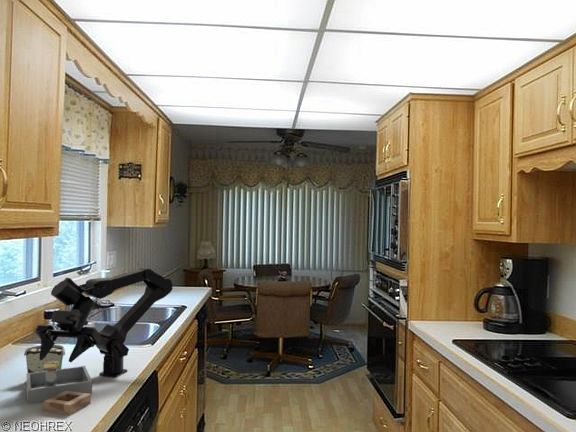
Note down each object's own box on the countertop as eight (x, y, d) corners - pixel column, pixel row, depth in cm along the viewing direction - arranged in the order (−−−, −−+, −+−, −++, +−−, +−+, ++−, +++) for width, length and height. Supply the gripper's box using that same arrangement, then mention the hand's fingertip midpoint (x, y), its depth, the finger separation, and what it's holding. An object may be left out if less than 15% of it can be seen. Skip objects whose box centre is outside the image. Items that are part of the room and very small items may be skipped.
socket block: (65, 405, 129) (65, 390, 129) (90, 408, 127) (90, 393, 127) (43, 417, 122) (43, 401, 122) (69, 420, 120) (69, 405, 120)
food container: (71, 374, 154) (72, 344, 155) (63, 381, 148) (63, 349, 148) (33, 374, 154) (33, 344, 154) (23, 381, 148) (23, 349, 148)
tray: (26, 390, 140) (26, 373, 140) (84, 381, 148) (85, 365, 148) (27, 409, 126) (27, 390, 126) (91, 399, 134) (92, 381, 134)
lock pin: (50, 393, 136) (50, 360, 136) (61, 395, 135) (61, 361, 135) (40, 398, 132) (40, 364, 132) (51, 400, 131) (52, 365, 131)
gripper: (39, 297, 142) (11, 344, 131) (96, 300, 139) (72, 347, 128) (55, 318, 149) (31, 364, 139) (110, 321, 146) (89, 368, 135)
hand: (55, 360), depth 135 cm, fingers open, 9 cm apart
